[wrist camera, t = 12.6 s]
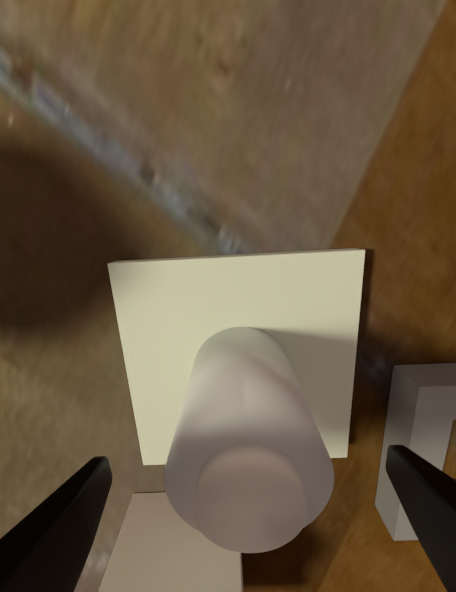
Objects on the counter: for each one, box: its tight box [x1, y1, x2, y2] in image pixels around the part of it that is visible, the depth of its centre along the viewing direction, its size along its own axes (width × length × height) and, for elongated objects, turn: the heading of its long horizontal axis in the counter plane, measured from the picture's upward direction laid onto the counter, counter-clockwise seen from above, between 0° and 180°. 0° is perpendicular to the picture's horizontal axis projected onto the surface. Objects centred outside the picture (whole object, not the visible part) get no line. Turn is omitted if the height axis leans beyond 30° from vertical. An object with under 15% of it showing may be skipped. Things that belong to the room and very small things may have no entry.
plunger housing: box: [98, 492, 243, 592], centre depth 15 cm, size 9×7×5 cm
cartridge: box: [164, 327, 334, 553], centre depth 10 cm, size 5×5×7 cm
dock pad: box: [107, 248, 365, 465], centre depth 14 cm, size 12×12×1 cm
